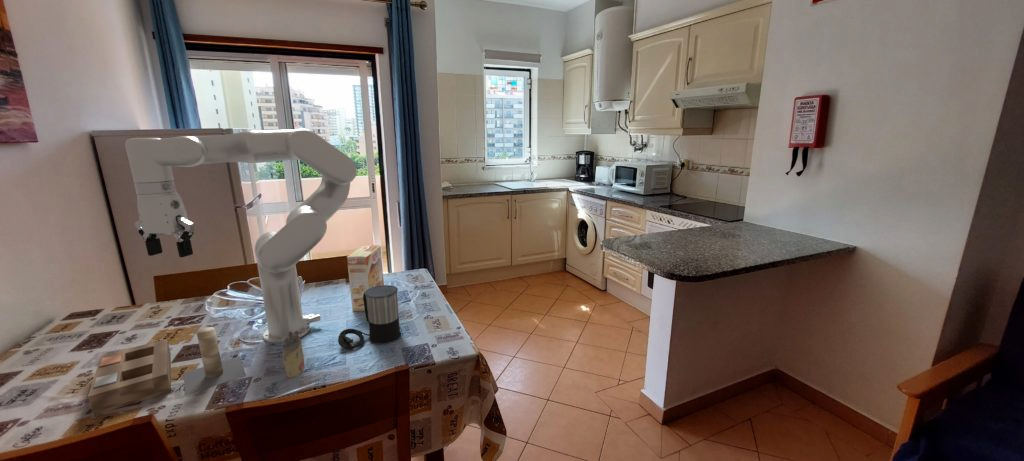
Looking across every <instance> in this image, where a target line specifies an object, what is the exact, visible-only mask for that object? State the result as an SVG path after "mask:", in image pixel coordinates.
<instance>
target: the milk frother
mask: <svg viewBox="0 0 1024 461" xmlns="http://www.w3.org/2000/svg"><path fill="white" fill-rule="evenodd" d="M398 291H399V288H398V287H396V286H394V285H389V284H384V285H381V286H375V287H372V288H369V289H368V290H366V291H365V292H364V294H363V301H364V308H365V311H364V314H365V320H366V323H368V328H369V329H368V330H369V332H368V333H366V332H363V331H362V330H359V329H355V328H346V329H343V330H342V331H340V332H339V335H338V338H337V343H338V344H339V346H340V347H341V348H343V349H347V350H352V349H357V348H359V347H360V346H362V345H363V344H364V341H365V337H364V335H365V336H367V337H368V340H369V342H370V343H372V344H377V345H385V344H391V343H393V342H396V341H398V339H399V340H400V338H401V336H402V332H401V328H400V316H399V299H398V298H399V297H398ZM351 334H352V335H355V336H357V337H358V339H359V340H358V342H355V343H353V342H354V339H353V338H350V337H348V336H347V335H351Z"/></svg>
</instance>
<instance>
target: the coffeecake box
mask: <svg viewBox="0 0 1024 461" xmlns="http://www.w3.org/2000/svg"><path fill="white" fill-rule="evenodd" d="M346 260H347V270H348V279H349V280H348V281H349V289H350V300H351V308H352V312H353V311H354V312H365V308H364V301H363V294H364V292H365V291H366V290H368V289H369V288H372V287H375V286H381V285H385V282H384V270H383V269H384V268H383V257H382V245H379V244H378V245H376V244H375V245H374V244H367V245H362V246H360V247H359V248H357V249H356V250H355V251H353V252H352V253H350V254H349V255H347V256H346Z"/></svg>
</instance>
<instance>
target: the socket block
mask: <svg viewBox="0 0 1024 461" xmlns="http://www.w3.org/2000/svg"><path fill="white" fill-rule="evenodd" d="M171 356H172V354H171V350H170V345H169V340H168V339H167V338H166V339H165V338H164V339H163V340H162V339H161V340H158V341H154V342H150V343H145V344H142V345H138V346H134V347H130V348H129V347H128V348H125V349H121V350H120V349H119V350H118V351H112V352H108V353H105V354H101V355H100V357H99V360H98V363H97V367H96V370H95V372H94V373H95V374H94V376H93V379H92V383H91V385H90V386H91V387H90V389H89V392H88V396H87V398H88V401H89V406H90V408H91V412H92V414H93V417H94V418H95V417H98V415H99V416H101V414H102V415H103V414H104V413H106V412H109V411H113V410H117V409H119V408H122V407H127V406H129V405H131V404H133V405H134V404H135V403H139V402H142V401H145V400H148V399H151V398H154V397H158V396H162V395H164V394H168V393H170V392H172V359H171V358H172V357H171Z"/></svg>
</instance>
